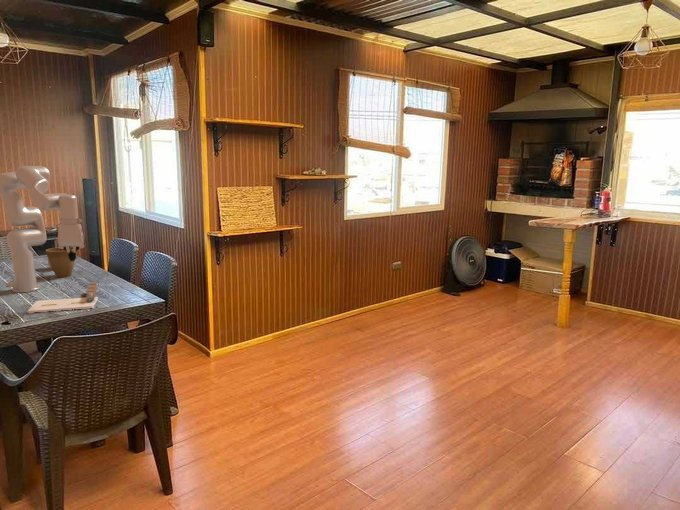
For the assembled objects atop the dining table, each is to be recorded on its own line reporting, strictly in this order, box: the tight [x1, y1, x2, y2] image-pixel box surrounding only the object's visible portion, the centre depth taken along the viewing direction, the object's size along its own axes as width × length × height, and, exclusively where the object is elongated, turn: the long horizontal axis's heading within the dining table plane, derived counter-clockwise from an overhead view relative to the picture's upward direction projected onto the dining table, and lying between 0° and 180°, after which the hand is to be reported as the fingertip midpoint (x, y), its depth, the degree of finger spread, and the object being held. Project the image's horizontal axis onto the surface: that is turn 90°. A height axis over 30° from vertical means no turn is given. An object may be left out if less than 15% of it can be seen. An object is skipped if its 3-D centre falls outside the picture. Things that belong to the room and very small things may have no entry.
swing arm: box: [85, 282, 98, 301], centre depth 241 cm, size 24×3×3 cm, turn 22°
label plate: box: [27, 296, 99, 314], centre depth 229 cm, size 26×16×2 cm, turn 108°
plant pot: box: [45, 246, 75, 278], centre depth 282 cm, size 15×15×16 cm
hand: (72, 260), depth 231 cm, fingers closed
